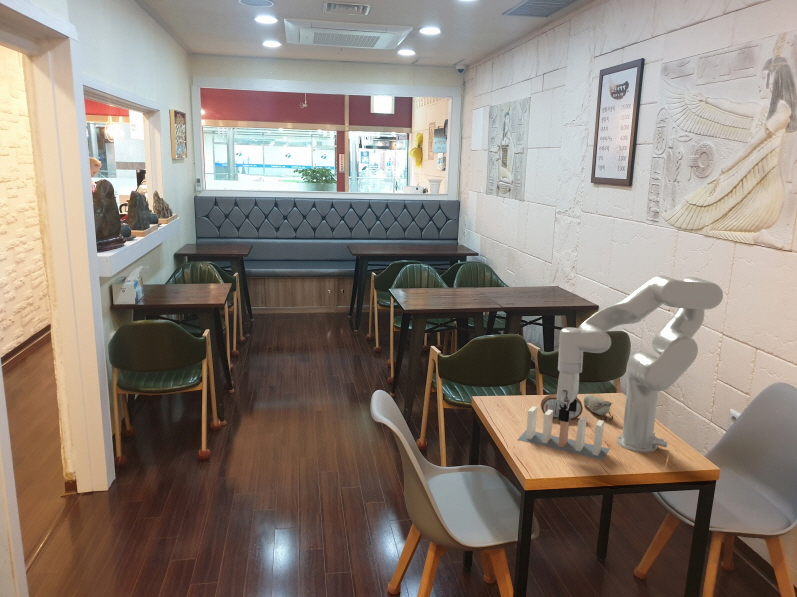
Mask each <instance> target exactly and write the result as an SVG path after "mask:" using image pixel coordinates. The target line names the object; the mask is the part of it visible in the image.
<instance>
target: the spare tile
mask: <svg viewBox="0 0 797 597" xmlns="http://www.w3.org/2000/svg"><path fill="white" fill-rule="evenodd" d="M569 418H570V414H569ZM569 429H570V421H569V422H564V421H560V424H559V434H558V435H559V436H558V437H559V447H564V446H565V445H566V443H567V441H568V439H569Z"/></svg>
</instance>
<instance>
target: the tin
mask: <svg viewBox="0 0 797 597" xmlns="http://www.w3.org/2000/svg"><path fill="white" fill-rule="evenodd" d="M565 404H566V406H567V403H565ZM559 405H560V401H557V394H549V395H546V396H545V397H544V398H542V399H541V402H540V409H541V411H542V413H543V415H544V414H545V413H546V412H547V411H548V409H549V410H553V419H559ZM582 413H583V403H582V401H581V400H580V399H579V398H578V397H577V409H576V412H572V411H569V414H570V418H569V420H575V419H577V418H579V417H580V416H581V415H582Z"/></svg>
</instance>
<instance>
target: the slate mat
mask: <svg viewBox="0 0 797 597" xmlns="http://www.w3.org/2000/svg"><path fill="white" fill-rule="evenodd" d="M526 433H527V429H525V431H524V432H523V433H522V434H521V435H520V436H519V437H518V439H517V441H521V442H525V443H529V444H534V445H537V446H542V447H546V448H548V449H554V450H556V451H557V450H558V451H562V452H567V453H570V454H575V455H579V456H583V457H588V458H592V459H595V460H600V461H605V459H606V457H607V454H608V453H609V451H610V448H608V447H604V446H602V447H601V451H600V453H599V455H598V456H597V455H593V448H594V444H591V443H586V442H584V447H583V448H582V450H581V452H580V451H576V440H573V439H569V438H568V441H567V443H566V445H565V446H564V447H559V436H556V435H552V434H551V439H550V440H549V441H548V443H547V444H546V443H542V437H543V432H539V431H535V435H534V437H533V438H532V439H531V440H530V439H526Z"/></svg>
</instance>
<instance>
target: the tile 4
mask: <svg viewBox="0 0 797 597" xmlns="http://www.w3.org/2000/svg"><path fill="white" fill-rule="evenodd" d="M587 420H588V419H587V416H581V417H580V418H579V419H578V421H577V430H576V439H575V441H576V451H580V452H581V450H582V448H583V447H584V443H585V440H586V429H587V428H586V427H587Z"/></svg>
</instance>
